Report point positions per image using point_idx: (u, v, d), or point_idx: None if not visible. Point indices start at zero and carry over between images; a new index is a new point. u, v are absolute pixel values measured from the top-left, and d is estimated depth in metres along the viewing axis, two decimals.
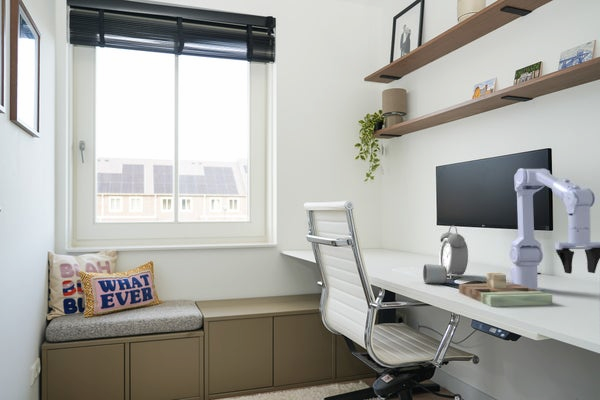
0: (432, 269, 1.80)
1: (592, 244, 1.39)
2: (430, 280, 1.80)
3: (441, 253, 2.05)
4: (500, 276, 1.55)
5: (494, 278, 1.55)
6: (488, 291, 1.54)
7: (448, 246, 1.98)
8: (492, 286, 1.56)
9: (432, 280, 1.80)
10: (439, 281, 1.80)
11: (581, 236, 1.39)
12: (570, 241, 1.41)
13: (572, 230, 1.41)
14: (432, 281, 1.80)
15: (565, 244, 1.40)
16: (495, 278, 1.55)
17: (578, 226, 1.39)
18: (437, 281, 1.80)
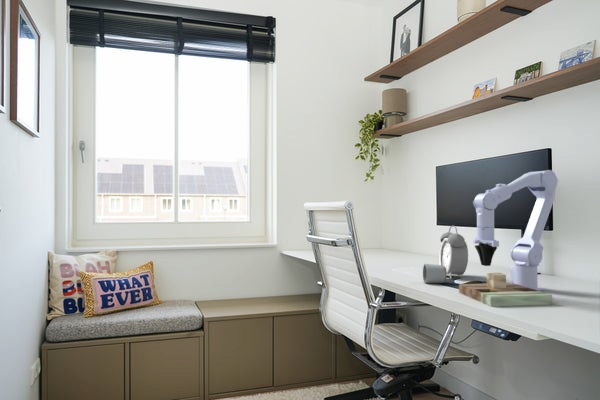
0: (432, 269, 1.81)
1: (482, 241, 1.62)
2: (430, 280, 1.81)
3: (441, 253, 2.05)
4: (500, 276, 1.55)
5: (494, 278, 1.55)
6: (488, 291, 1.54)
7: (448, 246, 1.98)
8: (492, 286, 1.56)
9: (432, 279, 1.81)
10: (439, 281, 1.81)
11: (477, 233, 1.66)
12: None
13: None
14: (432, 281, 1.81)
15: (475, 239, 1.70)
16: (495, 278, 1.55)
17: None
18: (437, 281, 1.81)
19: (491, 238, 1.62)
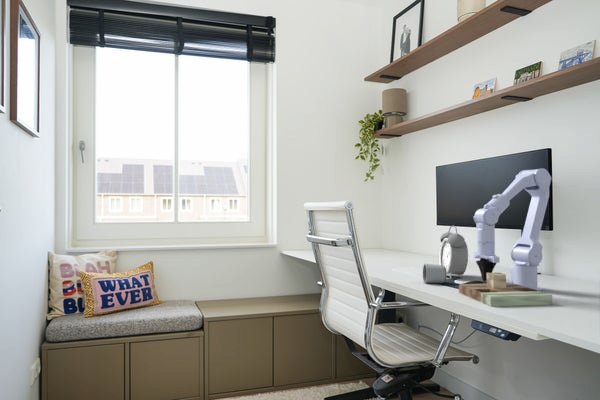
0: (432, 269, 1.81)
1: (483, 256, 1.62)
2: (430, 280, 1.81)
3: (441, 253, 2.05)
4: (500, 276, 1.55)
5: (494, 278, 1.55)
6: (488, 291, 1.54)
7: (448, 246, 1.98)
8: (492, 286, 1.56)
9: (432, 279, 1.81)
10: (439, 281, 1.81)
11: (477, 248, 1.65)
12: None
13: None
14: (432, 281, 1.81)
15: (475, 254, 1.70)
16: (495, 278, 1.55)
17: (477, 240, 1.66)
18: (437, 281, 1.81)
19: (491, 254, 1.62)
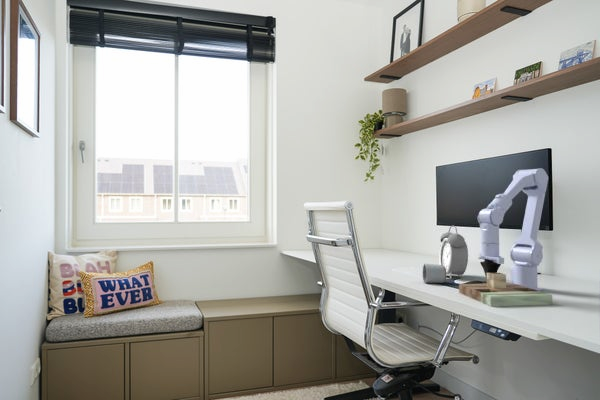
0: (431, 269, 1.81)
1: (487, 257, 1.59)
2: (429, 280, 1.81)
3: (441, 253, 2.05)
4: (500, 276, 1.55)
5: (494, 278, 1.55)
6: (488, 291, 1.54)
7: (448, 246, 1.98)
8: (492, 286, 1.56)
9: (432, 279, 1.81)
10: (438, 281, 1.81)
11: None
12: None
13: None
14: (431, 281, 1.81)
15: (479, 255, 1.67)
16: (495, 278, 1.55)
17: None
18: (436, 281, 1.81)
19: (496, 254, 1.59)
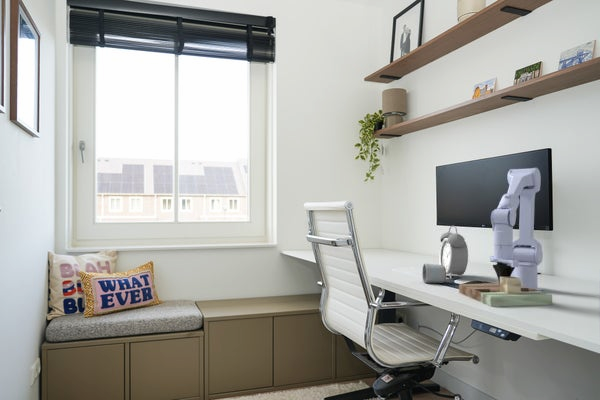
0: (431, 269, 1.81)
1: (500, 260, 1.50)
2: (429, 279, 1.81)
3: (441, 253, 2.05)
4: (514, 280, 1.47)
5: (508, 283, 1.46)
6: (488, 291, 1.54)
7: (448, 246, 1.98)
8: (506, 291, 1.47)
9: (432, 279, 1.81)
10: (438, 280, 1.81)
11: (494, 251, 1.54)
12: None
13: None
14: (431, 280, 1.82)
15: (491, 257, 1.58)
16: (509, 282, 1.46)
17: (495, 243, 1.53)
18: (436, 280, 1.82)
19: (510, 257, 1.50)
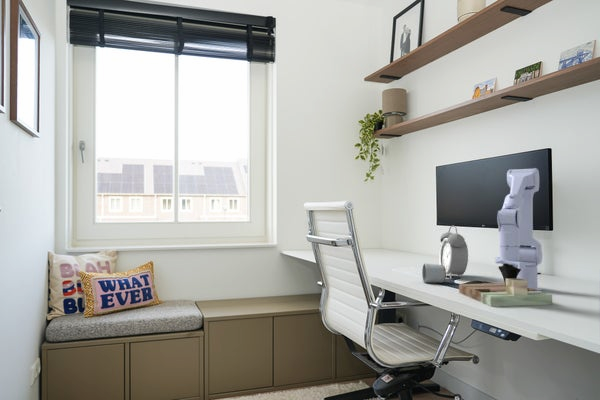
0: (431, 268, 1.81)
1: (506, 262, 1.47)
2: (429, 279, 1.82)
3: (441, 253, 2.05)
4: (521, 282, 1.43)
5: (514, 285, 1.43)
6: (488, 291, 1.54)
7: (448, 246, 1.98)
8: (512, 293, 1.44)
9: (431, 279, 1.81)
10: (438, 280, 1.82)
11: (500, 253, 1.50)
12: None
13: None
14: (431, 280, 1.82)
15: (497, 259, 1.54)
16: (515, 284, 1.43)
17: (501, 244, 1.49)
18: (436, 280, 1.82)
19: (516, 259, 1.47)
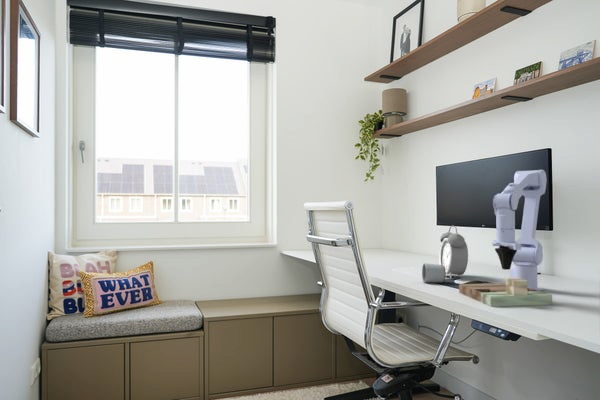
0: (431, 268, 1.82)
1: (502, 243, 1.53)
2: (429, 279, 1.82)
3: (441, 253, 2.05)
4: (521, 282, 1.43)
5: (514, 285, 1.43)
6: (488, 291, 1.54)
7: (448, 246, 1.98)
8: (512, 293, 1.44)
9: (431, 279, 1.82)
10: (438, 280, 1.82)
11: None
12: None
13: None
14: (431, 280, 1.82)
15: (493, 241, 1.61)
16: (515, 284, 1.43)
17: (497, 227, 1.56)
18: (436, 280, 1.82)
19: (512, 240, 1.53)
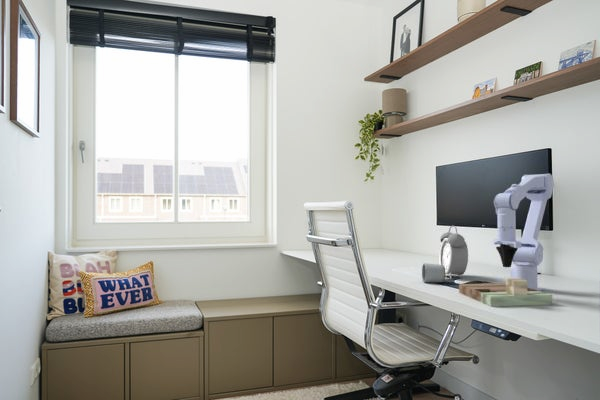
0: (431, 268, 1.82)
1: (503, 242, 1.57)
2: (429, 279, 1.82)
3: (441, 253, 2.05)
4: (521, 282, 1.43)
5: (514, 285, 1.43)
6: (488, 291, 1.54)
7: (448, 246, 1.98)
8: (512, 293, 1.44)
9: (431, 279, 1.82)
10: (438, 280, 1.82)
11: None
12: None
13: None
14: (431, 280, 1.83)
15: (495, 240, 1.65)
16: (515, 284, 1.43)
17: (498, 225, 1.60)
18: (436, 280, 1.82)
19: (513, 239, 1.57)
